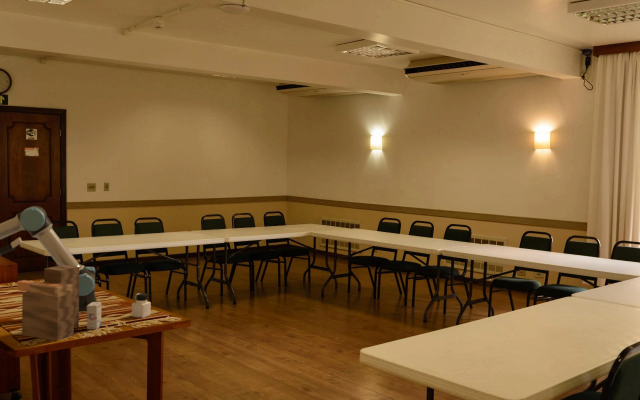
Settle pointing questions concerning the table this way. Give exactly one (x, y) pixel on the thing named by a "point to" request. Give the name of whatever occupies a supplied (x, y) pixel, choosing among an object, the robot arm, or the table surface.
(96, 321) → the ink box
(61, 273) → the brown stepped wooden block
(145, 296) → the medicine bottle
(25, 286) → the block
